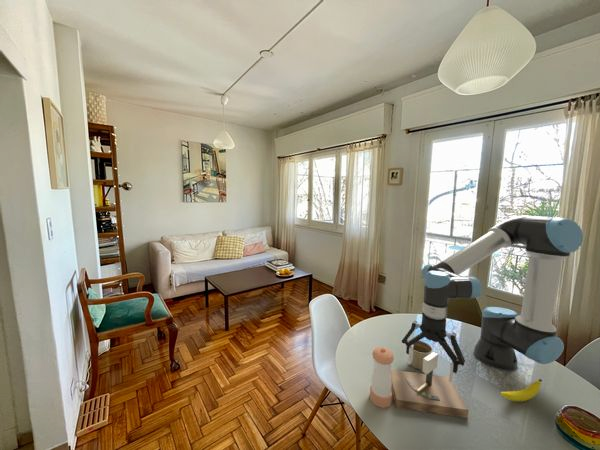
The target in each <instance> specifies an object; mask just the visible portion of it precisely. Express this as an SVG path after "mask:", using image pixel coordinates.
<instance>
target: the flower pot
mask: <svg viewBox="0 0 600 450" xmlns="http://www.w3.org/2000/svg"><path fill="white" fill-rule="evenodd" d="M413 345H414V346H413V360H412V363H411V364H410V365H411V366H412V367H413V368H415V369H417V370H421V371H422V369H423V358H425V357H426V356H428V355H429V354H431V353H432V352H434V351H433V349H434V348H433V347H432V346H431V344H429V343H427V342H425V341H423V340H419V341H417V342H416V343H414V344H413Z"/></svg>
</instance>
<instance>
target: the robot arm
mask: <svg viewBox="0 0 600 450" xmlns="http://www.w3.org/2000/svg"><path fill="white" fill-rule="evenodd" d="M583 240H584V234H583V230H582V228H581V226H580V225H579V224H578V222H576V221H574V220H573V219H570V218H565V217H558V216H552V217H551V216H540V215H539V216H538V215H537V216H536V215H528V214H525V215H517V216H514V217H511V218H508V219H505V220H503V221H501V222H499V223H497V224H495V225H494V226H491V227H490V228H489V229H488V230H487V233H485V234H483V235H482V236H480V237H479V238H478V239H475V240H473V242H471V243H469V244H467V245H466V246H464V247H463V248H461V249H460V250H458V251H457V252H455V253H453V254H452V255H450V256H448V257H447V258H446V259H444V260H442V261H440V262H439V263H437V264H431V263H430V264H426V265H424V266H423V268H422V270H421V276H422V279H424V282H423V285H424V288H423V300H422V301H423V302H422V315H421V323H418V321H416V320H414V321H412V323H411V326H410V327H411V328H410V329H409V330H408V331H407V333H406V334H405V336H404V337H403V339H401V343H402V344H405V346H406V351H405V353H406V354H407V355H408V362H407V364H408V365H412V364H411V363H412V360H413V346H414V345H413V344H414V343H416V342H417V341H421V340H422V339H424V338H425V339H426V340H428V341H432V342H433V343H438V344H439V345H440V346H441V347H442V348H443V350H444V352H445V353H446V354H447V356H448V357H449V359H450V360H451V361H450V369H449V381H450V382H452V383H453V379H454V374H457V373H458V368H459V366H462V367H463V366H464V365H465V363H466V360H465V357H464V355H463V352H462V350H461V348H460V346H459V343H458V341H457V333H455V332H451V333H450V332H447V331H446V330H447V329H446V326H447V316H448V306H449V305H448V304H449V300H455V299H457V300H459V299H461V300H463V299H473V298H478V297H480V296H481V295H482V293H483V286H482V283H481V282H480V281H481V280H479V279H478V278H477V277H475V276H468V275H465V276H462V275H461V274H463V273H464V272H465V271H468V270H469V269H470V268H472V267H473V266H474V265H475V266H476V265H477V264H479V263H480V262H481V261H483V260H485V259H486V258H488V257H489V256H491V255H493V254H494V253H496V252H497V251H499V250H501V249H502V248H503V249H506V248H509V247H511V246H513V245H524V246H525V252H526V253H527V254H528V255H529V261H528V264H527V265H528V266H527V273H526V279H525V284H524V285H525V287H524V292H523V293H524V294H523V299H522V305H521V311H520V315H518V312H516V311H514V310H511V309H509V308H506V307H505V308H504V307H500V306H499V307H498V306H487V307H485V308H483V312H482V315H481V323H480V324H481V325H480V326H481V327H480V338H479V339H478V341H477V342H476V344H475V345H474V348H473V349H474V350H473V355H474V356H475V357H476V358H477V359H478V360H479V361H480V362H482V363H484V364H486V365H487V366H490V367H493V368H496V369H499V370H503V371H513V370H515V369H517V368H518V358H517V355H516V351H517V352H519V353H520V354H522V355H523V356H525V357H526V358H527V359H530V360H532V361H534V362H535V363H538V364H541V365H548V364H552V363H553V362H555V361H556V360H557V359H559V357H560V356H562V353H563V351H564V349H565V343H564V342H563V340H562V339H561V338H559V337H558V336H557V327H556V326H555V325H554V324H553V319H554V311H555V305H556V300H557V295H558V287H559V282H560V278H561V277H560V275H561V271H562V266H563V265H562V264H563V261H564V260H566V259H567V258H569V257H570V254H572V253H575V252H576V251H578V250H579V249H580V247H581V246H582V244H583ZM418 329H420V331H421V333H419V334H417V335H416V336H414V337H412V339H410V340H409V338H410V336H412V334H413V333H414V331H416V330H418ZM446 337H447V338H448V340H449V341H450V344H451V346H452V348H453V349H452V348H451V346H450V345H449V344H448V343H447V340H446Z"/></svg>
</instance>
